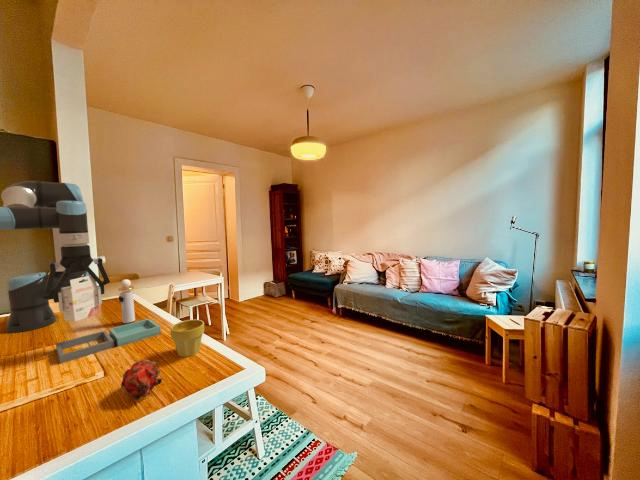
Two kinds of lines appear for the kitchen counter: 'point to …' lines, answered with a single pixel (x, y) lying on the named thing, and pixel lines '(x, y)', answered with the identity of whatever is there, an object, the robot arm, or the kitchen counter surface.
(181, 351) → the plant pot
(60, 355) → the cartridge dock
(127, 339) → the teal tray
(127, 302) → the perfume bottle
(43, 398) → the kitchen counter surface
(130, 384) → the dragon fruit
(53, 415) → the kitchen counter surface
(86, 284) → the ink cartridge box
